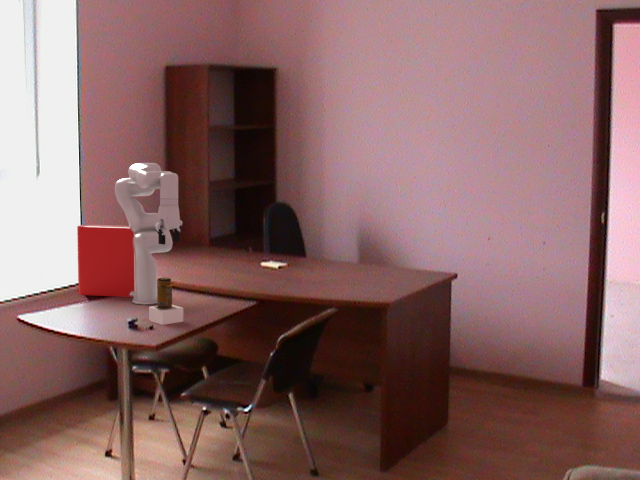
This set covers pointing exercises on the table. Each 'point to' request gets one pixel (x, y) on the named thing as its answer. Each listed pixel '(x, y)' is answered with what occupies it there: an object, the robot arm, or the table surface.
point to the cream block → (166, 315)
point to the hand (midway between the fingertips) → (169, 242)
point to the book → (106, 260)
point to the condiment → (164, 294)
